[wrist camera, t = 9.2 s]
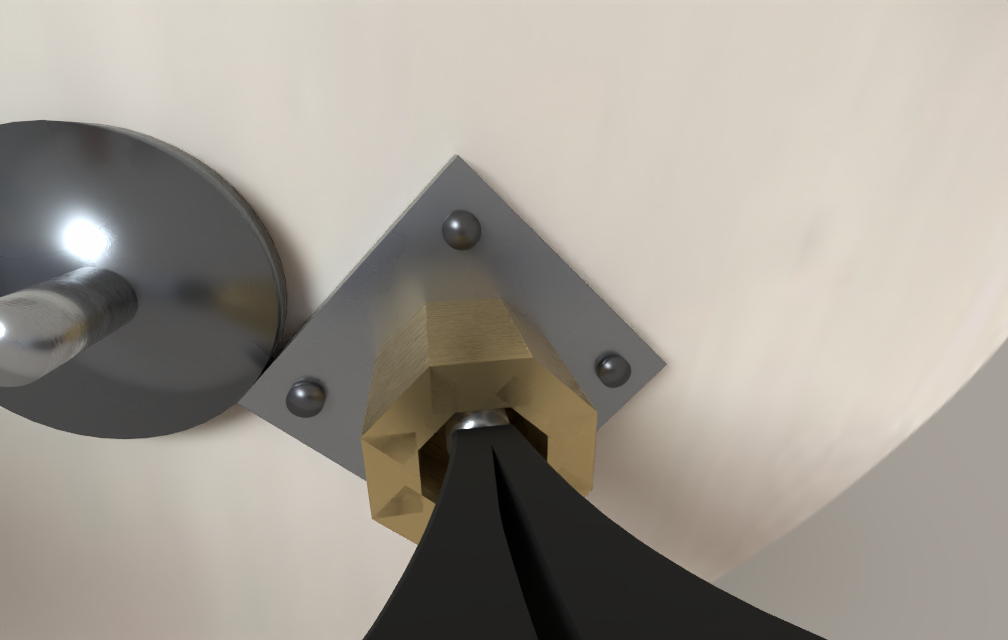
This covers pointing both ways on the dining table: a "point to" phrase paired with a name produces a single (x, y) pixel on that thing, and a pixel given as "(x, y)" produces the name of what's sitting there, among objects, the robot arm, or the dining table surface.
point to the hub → (434, 278)
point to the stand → (127, 283)
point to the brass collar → (465, 404)
